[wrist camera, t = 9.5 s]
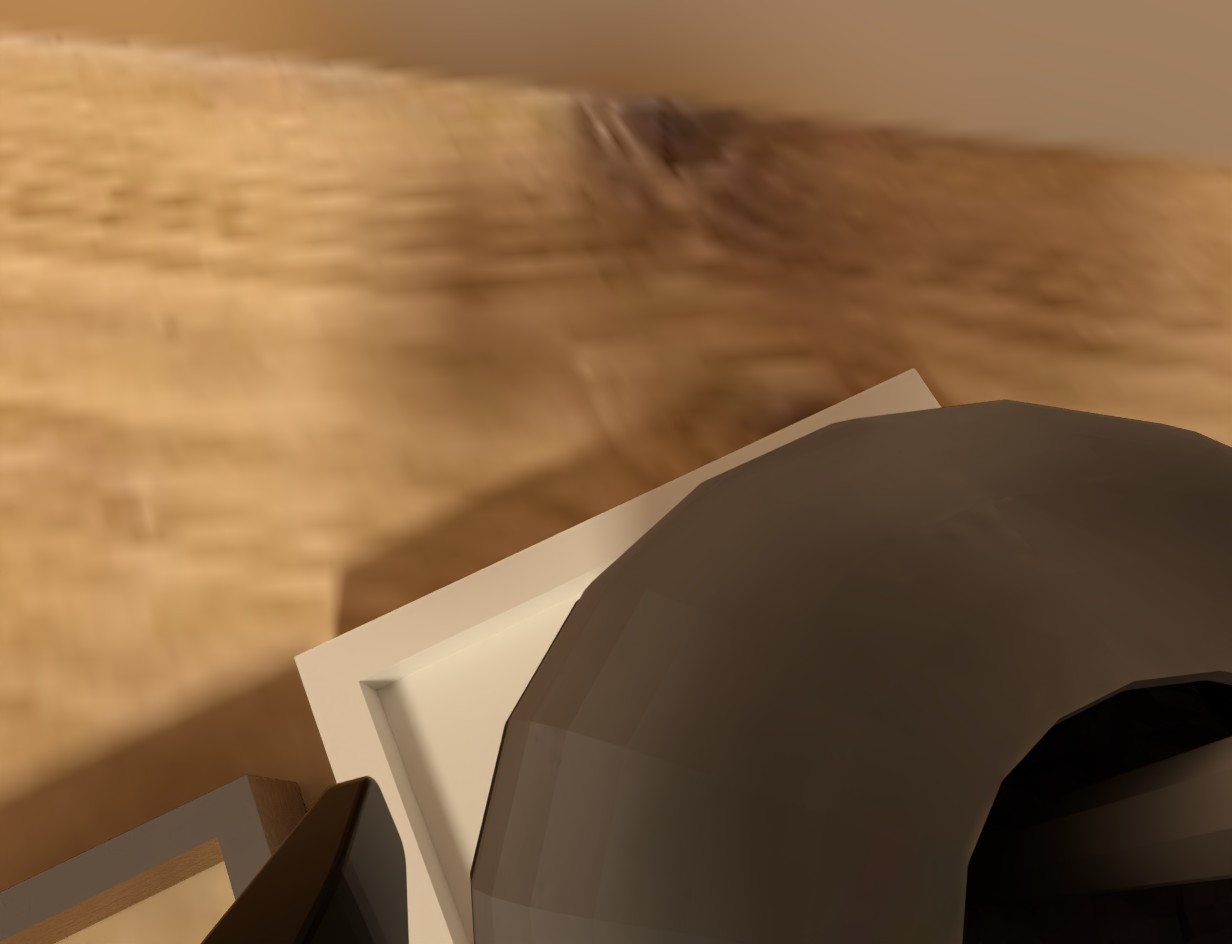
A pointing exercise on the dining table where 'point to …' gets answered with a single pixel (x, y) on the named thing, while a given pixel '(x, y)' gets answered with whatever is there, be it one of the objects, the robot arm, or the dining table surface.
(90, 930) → the dining table surface
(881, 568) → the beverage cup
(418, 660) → the cream white tray
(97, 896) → the grey-brown square frame
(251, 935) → the robot arm
